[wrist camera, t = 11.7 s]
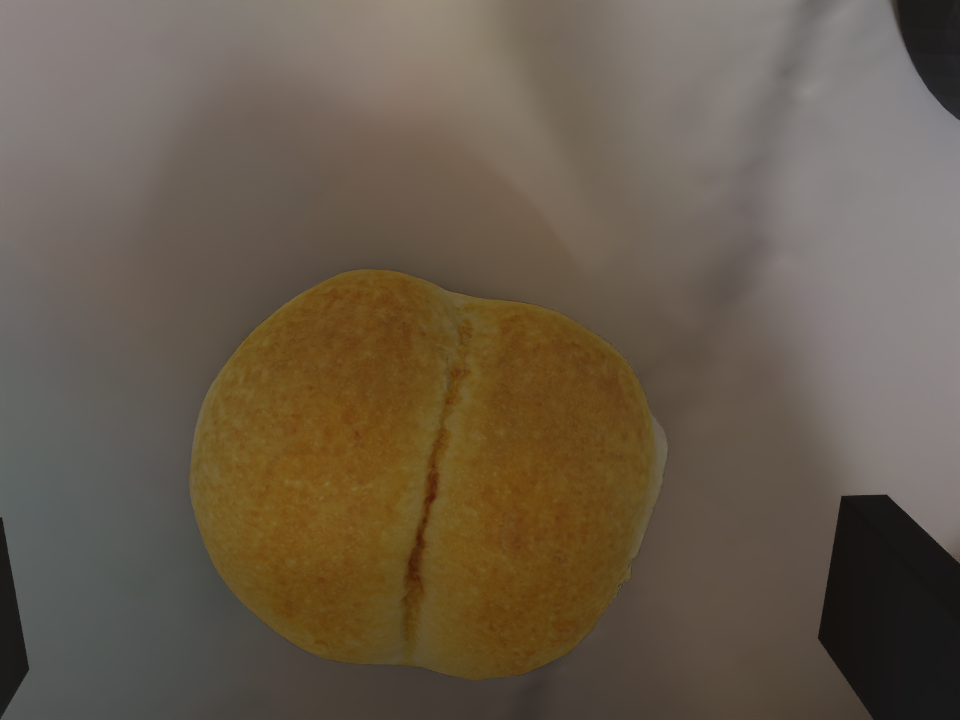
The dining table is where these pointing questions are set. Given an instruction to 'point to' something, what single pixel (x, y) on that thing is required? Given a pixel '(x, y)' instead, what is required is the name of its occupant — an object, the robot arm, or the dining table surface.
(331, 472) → the bread roll
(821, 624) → the robot arm
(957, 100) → the travel mug
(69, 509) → the dining table surface
